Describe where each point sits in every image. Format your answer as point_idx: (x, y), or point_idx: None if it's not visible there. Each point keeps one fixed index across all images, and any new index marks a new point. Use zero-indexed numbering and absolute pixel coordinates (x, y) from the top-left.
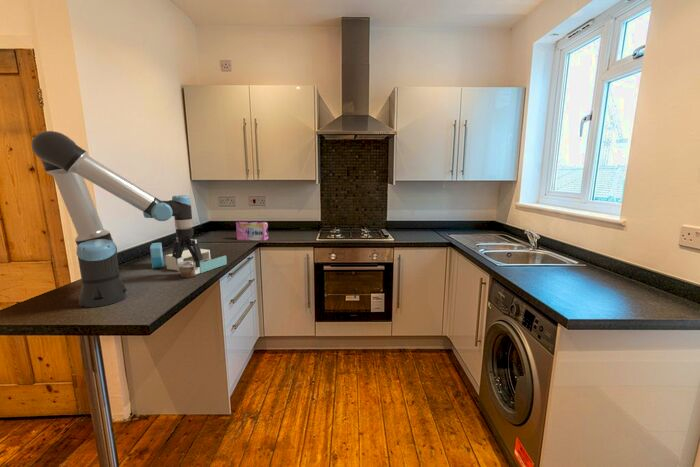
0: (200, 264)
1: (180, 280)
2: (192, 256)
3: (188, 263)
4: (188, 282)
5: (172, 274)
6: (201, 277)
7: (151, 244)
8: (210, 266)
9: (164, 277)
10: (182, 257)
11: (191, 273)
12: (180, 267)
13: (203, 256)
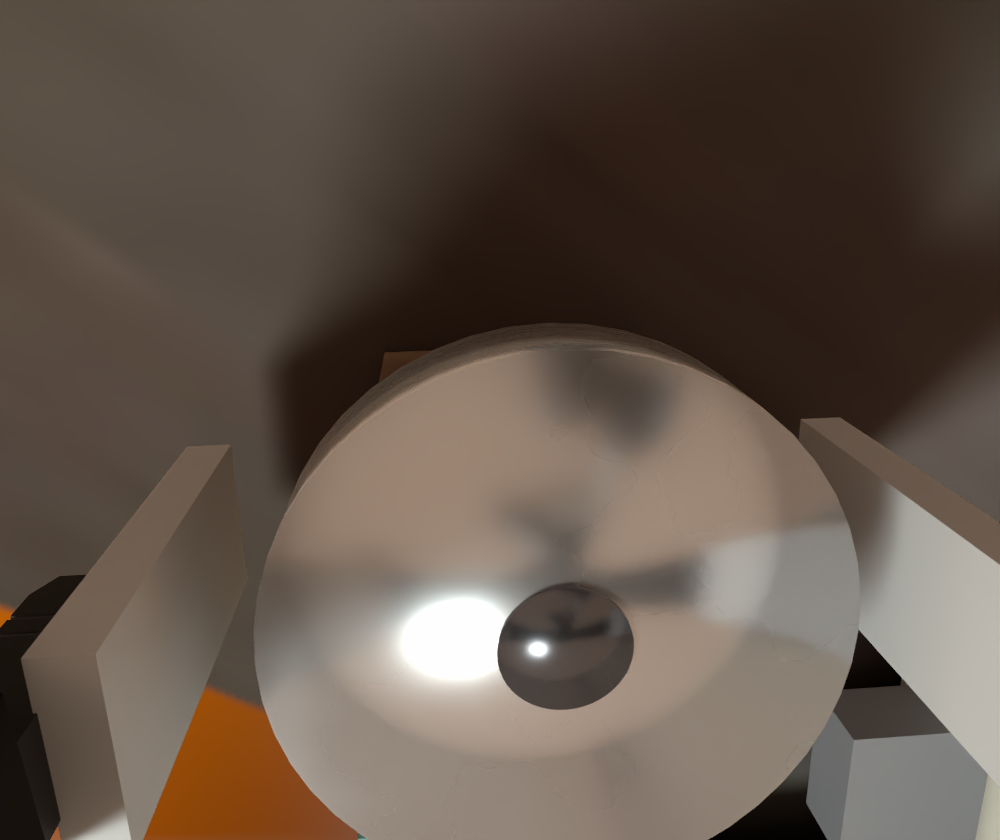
0: (360, 836)
1: (381, 119)
2: (22, 835)
3: (451, 593)
4: (32, 88)
5: (967, 366)
6: (123, 498)
7: None
8: None
9: (973, 121)
10: None
11: None
12: (575, 325)
13: None
